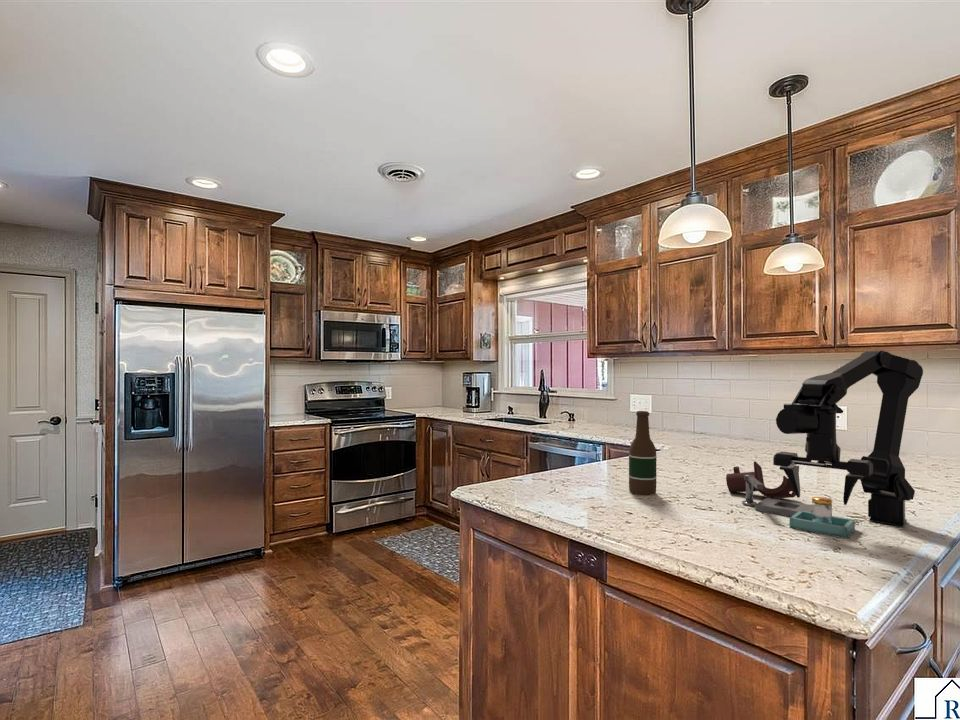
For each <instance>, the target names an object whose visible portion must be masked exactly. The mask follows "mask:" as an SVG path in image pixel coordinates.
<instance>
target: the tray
mask: <svg viewBox="0 0 960 720" xmlns="http://www.w3.org/2000/svg"><path fill="white" fill-rule="evenodd" d="M855 523H856V522H855V519H853V518H852V519H851V518H845V517H839V516H834V515H832V525H831V524H826V523H820V522H815V521H812V513H811V512H805V511H799V512H797V513H796V514H794V515H793V516H792V517H791V516H789V528H790V527H792V528H791V529H795V528H796V529H797V530H802V531H805V532H812V533H816V534H817V533H818V534H823V535H828V536H832V537H837V536H838V538H842V537H843V539H847V538H849V536H850V535H851V534H852V533H853V532H854V531H855V526H856V525H855ZM796 529H795V530H796Z"/></svg>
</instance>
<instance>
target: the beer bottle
mask: <svg viewBox="0 0 960 720" xmlns="http://www.w3.org/2000/svg"><path fill="white" fill-rule="evenodd" d="M635 415H636V428H635V429H636V430H635V435H634V436H635V437H634V438H633V441H632V442H631V444H630V446H629V448H628V449H629V450H628V451H629V452H628V489H629V490H628V491H629V492H630V493H631V494H633V495H638V496H653V495H655V494H656V493H657V449H656V447H655V443H654V442H653V440H651V434H650V423H649V422H650V421H649V416H650V413H649V411H646V410H638V411H636V413H635Z"/></svg>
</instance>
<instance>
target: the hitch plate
mask: <svg viewBox="0 0 960 720" xmlns="http://www.w3.org/2000/svg"><path fill="white" fill-rule="evenodd" d="M741 504H742V505H743V506H746V507H755V511H757V510H758V511H757V512H763V511H764V512H763V513H768V512H769V514H774V513H775V515H780V514H781V516H785V515H786V516H785V517H791V516H793V515H794V514H796V513H797V512H799V511H805V512H811V513H812V504H809V503H801V502H796V501H789V500H784V499H779V498H774V499H771V498H767V497H765V498H764V499H763V500H761V501H758V502H756V501H754V491H753V485H752V484H751V483H750V482H748V481H746V492H745V500H742V501H741Z"/></svg>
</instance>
